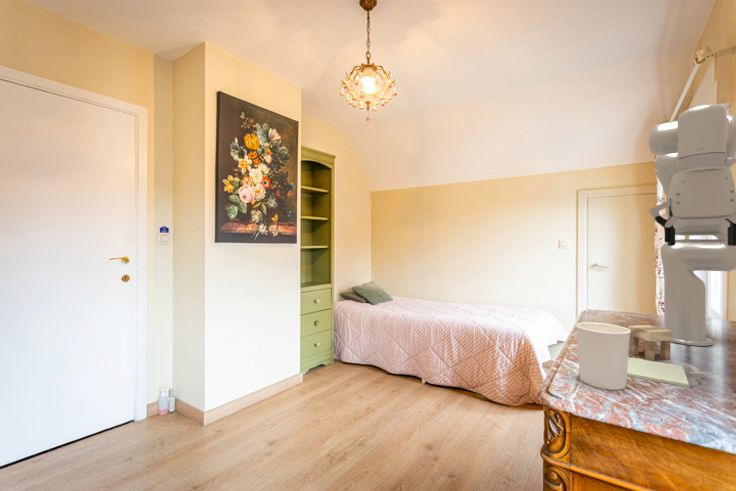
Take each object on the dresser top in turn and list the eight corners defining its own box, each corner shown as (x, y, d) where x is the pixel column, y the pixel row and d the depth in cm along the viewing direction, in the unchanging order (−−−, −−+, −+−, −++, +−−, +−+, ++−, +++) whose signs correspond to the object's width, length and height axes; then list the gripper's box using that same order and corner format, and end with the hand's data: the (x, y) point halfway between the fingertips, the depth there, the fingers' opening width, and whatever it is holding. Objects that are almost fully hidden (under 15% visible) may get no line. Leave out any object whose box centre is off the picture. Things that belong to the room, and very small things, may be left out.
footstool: (627, 352, 95) (627, 325, 95) (648, 351, 95) (648, 325, 95) (649, 360, 88) (649, 331, 88) (672, 359, 89) (672, 330, 89)
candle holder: (566, 377, 77) (566, 324, 77) (594, 371, 81) (594, 320, 81) (611, 395, 68) (611, 335, 68) (641, 387, 72) (641, 330, 72)
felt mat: (620, 358, 90) (620, 356, 90) (682, 368, 82) (682, 366, 82) (618, 373, 79) (618, 371, 79) (689, 387, 72) (689, 384, 72)
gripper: (751, 164, 72) (751, 245, 72) (646, 173, 81) (646, 245, 81) (768, 156, 65) (768, 245, 65) (652, 167, 74) (652, 245, 74)
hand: (701, 245), depth 73 cm, fingers open, 9 cm apart
